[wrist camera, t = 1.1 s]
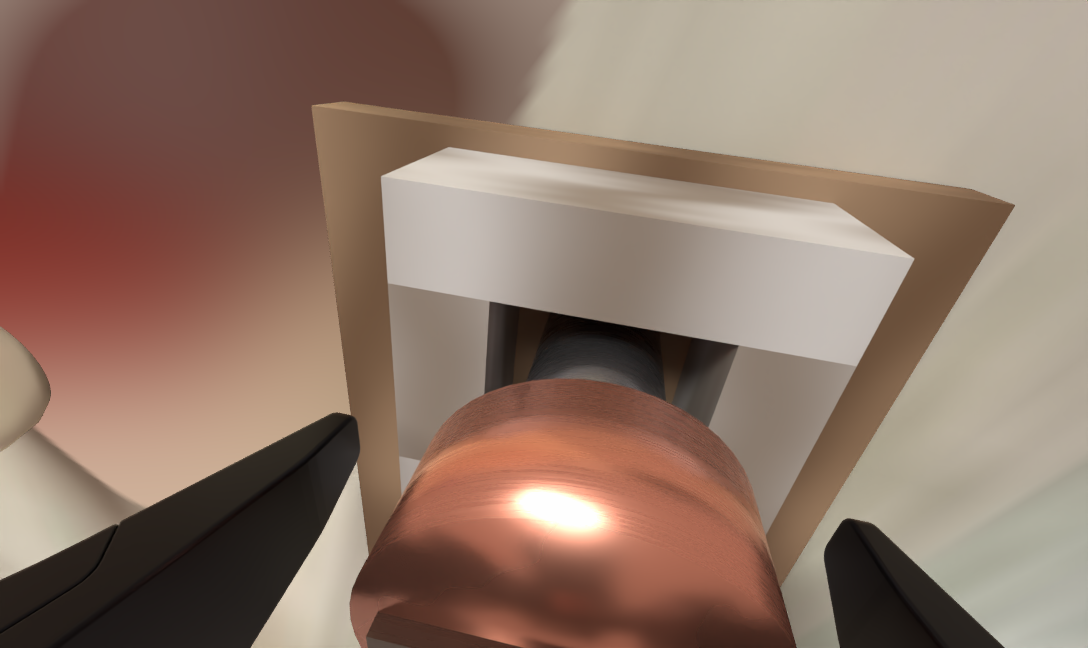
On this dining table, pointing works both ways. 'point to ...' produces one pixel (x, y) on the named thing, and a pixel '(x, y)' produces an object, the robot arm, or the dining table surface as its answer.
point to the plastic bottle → (19, 390)
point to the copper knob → (574, 518)
